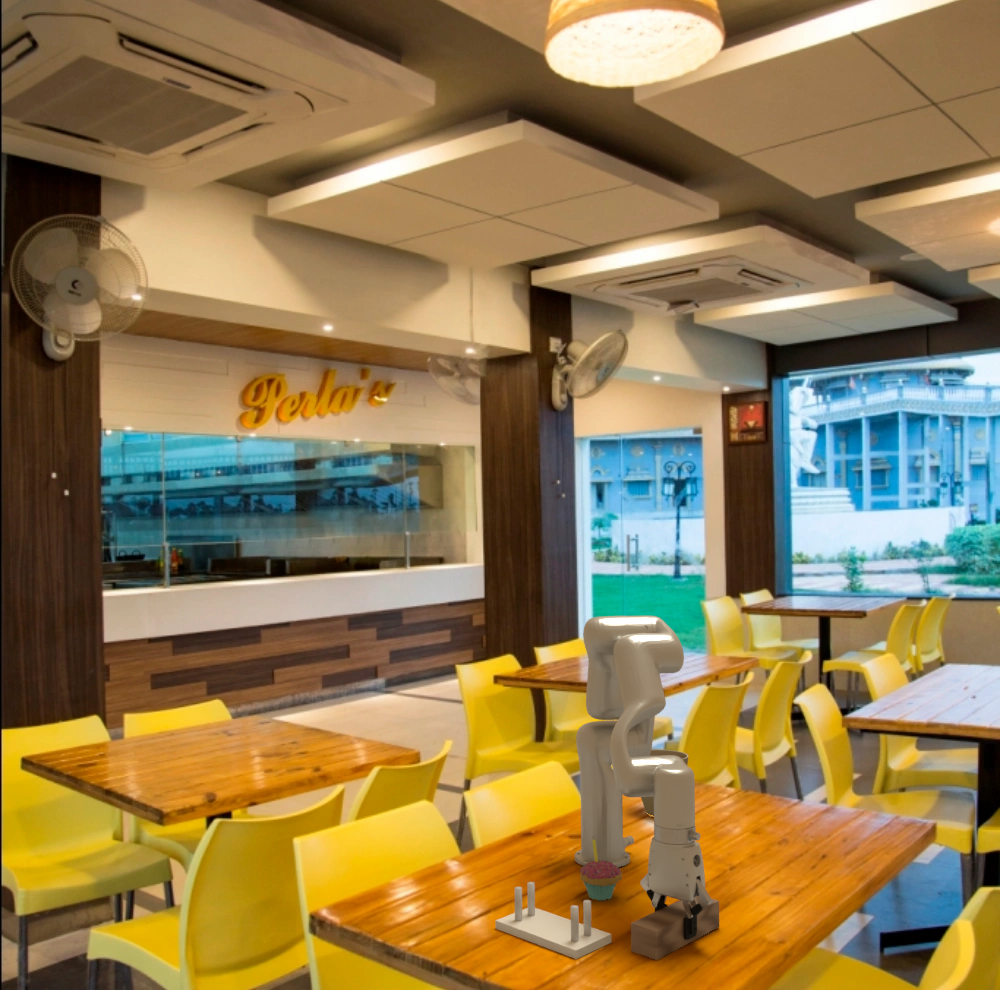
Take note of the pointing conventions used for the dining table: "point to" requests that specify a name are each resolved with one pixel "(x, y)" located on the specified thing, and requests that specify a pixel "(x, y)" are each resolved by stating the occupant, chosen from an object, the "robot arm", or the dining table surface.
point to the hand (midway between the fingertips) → (675, 931)
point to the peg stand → (553, 927)
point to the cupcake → (600, 877)
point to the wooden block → (670, 929)
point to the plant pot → (649, 801)
